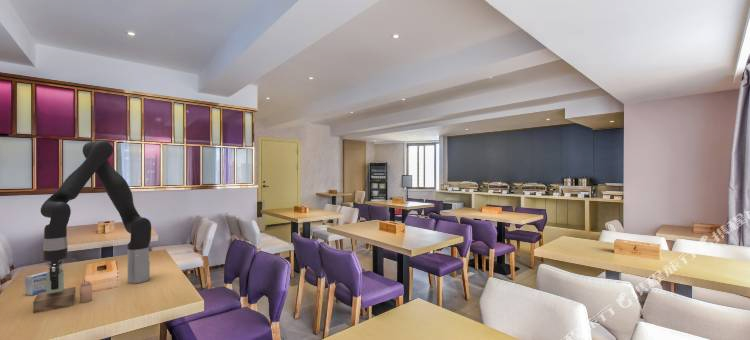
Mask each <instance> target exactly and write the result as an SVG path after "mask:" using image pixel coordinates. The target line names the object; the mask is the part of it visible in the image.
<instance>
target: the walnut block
mask: <svg viewBox="0 0 750 340" xmlns="http://www.w3.org/2000/svg"><path fill="white" fill-rule="evenodd" d="M75 300H76V286H73V287H67V288H64V289H63V291H60V292H54V293H48V294H46V291H45V292H42V293H38V294H36V295H35V298H34V300H33V302H32V303H33V309H32V310H33V311H32V312H33V314H36V313H42V312H47V311H51V310H56V309H58V310H59V309H62V308H69V307H73V306H74V304H75Z"/></svg>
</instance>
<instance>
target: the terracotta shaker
mask: <svg viewBox="0 0 750 340" xmlns="http://www.w3.org/2000/svg"><path fill="white" fill-rule="evenodd" d="M91 301H93V285H92V283H91V281H89V280H85V281H83V282H82V283H81V284H80V286H79V303H80V304H85V303H89V302H91Z"/></svg>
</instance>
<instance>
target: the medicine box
mask: <svg viewBox="0 0 750 340" xmlns="http://www.w3.org/2000/svg"><path fill="white" fill-rule="evenodd" d="M48 272H49V271H43V272H39V273H35V274H31V275H28V276H25V277H24V287H25V288H24V289H25V290H24V294H25V296H37V294H38V293H42V292H46V275H47V273H48Z"/></svg>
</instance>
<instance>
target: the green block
mask: <svg viewBox="0 0 750 340" xmlns="http://www.w3.org/2000/svg"><path fill="white" fill-rule="evenodd" d="M47 272H48V273H47V275H46V291H45V292H46V294H48V293H54V292H60V291H63V289H65V284H64V283H65V270H64V269H62V270H61V273H60V274H59V280H58V289H55V290H51V281H50V275H49V271H47ZM52 277H56V275H53V276H52Z"/></svg>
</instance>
